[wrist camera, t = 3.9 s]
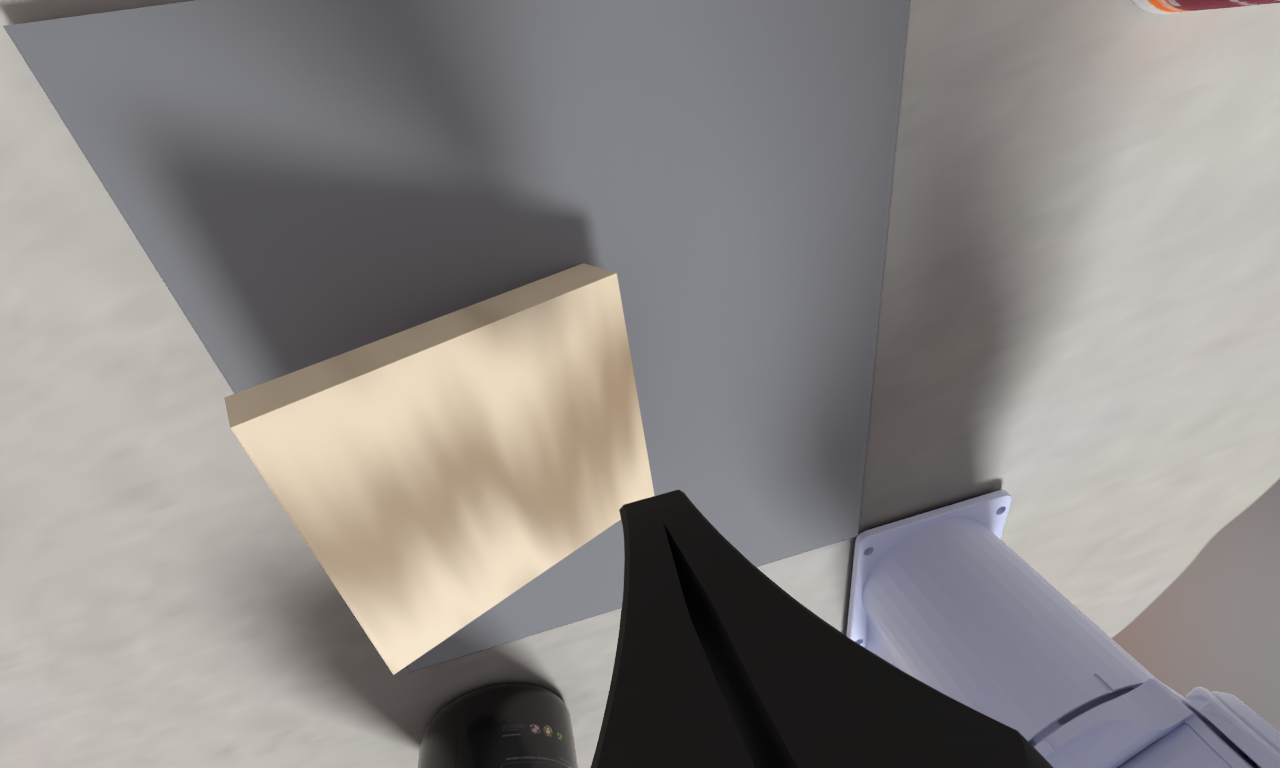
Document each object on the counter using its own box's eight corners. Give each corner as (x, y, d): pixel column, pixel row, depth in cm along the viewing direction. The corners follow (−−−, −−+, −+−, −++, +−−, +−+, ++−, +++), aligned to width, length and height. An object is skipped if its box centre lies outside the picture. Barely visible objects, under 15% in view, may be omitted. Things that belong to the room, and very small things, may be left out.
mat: (852, 529, 25) (857, 536, 24) (411, 663, 22) (409, 672, 22) (908, -92, 13) (919, -97, 13) (18, 27, 11) (2, 26, 10)
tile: (654, 496, 18) (393, 674, 14) (624, 473, 20) (375, 630, 15) (616, 272, 14) (230, 427, 10) (580, 262, 15) (224, 395, 11)
